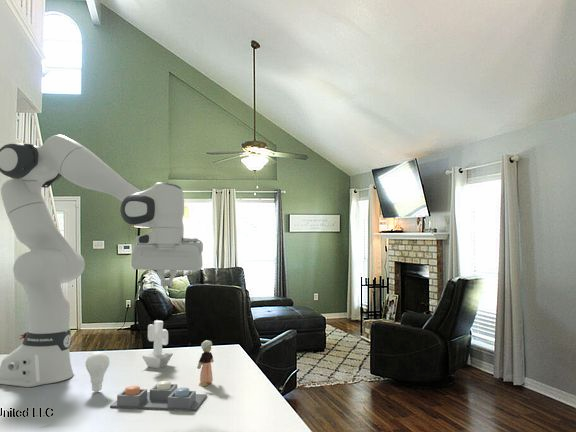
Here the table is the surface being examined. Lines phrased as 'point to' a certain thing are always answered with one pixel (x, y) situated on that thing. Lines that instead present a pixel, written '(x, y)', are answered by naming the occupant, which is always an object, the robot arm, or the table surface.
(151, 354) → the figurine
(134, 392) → the rust button
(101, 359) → the lightbulb
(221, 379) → the table surface
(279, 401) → the table surface
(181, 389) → the slate button
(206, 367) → the grandmother figurine
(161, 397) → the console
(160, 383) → the cream button
